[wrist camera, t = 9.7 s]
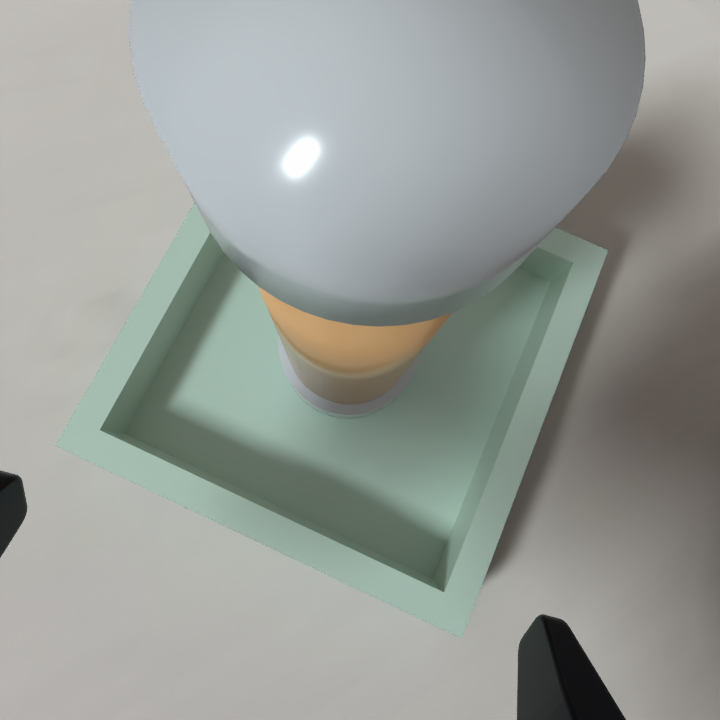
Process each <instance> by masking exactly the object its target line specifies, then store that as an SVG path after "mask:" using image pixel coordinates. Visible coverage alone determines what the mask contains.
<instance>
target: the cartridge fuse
mask: <svg viewBox="0 0 720 720" xmlns="http://www.w3.org/2000/svg"><path fill="white" fill-rule="evenodd" d="M129 43H130V50H131V56H132V63H133V70H134V75H135V78H136V81H137V84H138V88H139V91H140V94H141V97H142V101H143V103H144V105H145V107H146V110H147V112H148V114H149V116H150V118H151V120H152V122H153V124H154V126H155V128H156V130H157V132H158V134H159V136H160V138H161V140H162V142H163V144H164V146H165V147H166V149H167V151H168V153H169V155H170V157H171V159H172V161H173V163H174V164H175V166H176V168H177V170H178V172H179V174H180V176H181V178H182V180H183V182H184V183H185V185H186V187H187V189H188V191H189V193H190V195H191V197H192V199H193V200H194V202H195V204H196V206H197V208H198V210H199V212H200V214H201V216H202V217H203V219H204V221H205V223H206V225H207V227H208V229H209V231H210V233H211V234H212V236H213V237H214V238H215V240H216V241H217V243H218V244H219V246H220V247H221V249H222V250H223V252H224V253H225V254H226V255H227V257H228V258H229V259H230V260H231V261H232V262H233V263H234V264H235V265H236V267H237V268H238V269H239V270H240V271H241V272H242V273H243V274H245V275H246V276H247V277H248V278H249V279H250V280H252V281H253V282H254V283H255V284H256V285H257V286H258V287H259V290H260V292H261V294H262V297H263V299H264V302H265V304H266V306H267V309H268V311H269V313H270V316H271V318H272V321H273V323H274V325H275V328H276V330H277V332H278V335H279V337H278V351H279V357H280V361H281V364H282V367H283V370H284V372H285V374H286V376H287V378H288V380H289V382H290V384H291V386H292V387H293V389H294V390H295V392H296V393H297V395H298V396H299V397H300V398H301V399H302V400H303V401H304V402H305V403H306V404H307V405H309V406H310V407H312V408H313V409H315V410H316V411H318V412H320V413H323V414H325V415H328V416H331V417H336V418H344V419H352V418H360V417H365V416H368V415H371V414H374V413H376V412H378V411H380V410H381V409H383V408H384V407H386V406H387V405H389V404H390V403H391V402H392V401H393V400H394V399H395V398H396V397H397V396H398V395H399V394H400V393H401V392H402V390H403V389H404V388H405V387H406V386H407V384H408V383H409V381H410V380H411V378H412V376H413V374H414V372H415V370H416V367H417V364H418V361H419V355H420V353H421V352H422V351H423V350H424V348H425V347H426V346H427V344H428V343H429V342H430V341H431V339H432V338H433V337H434V336H435V334H436V333H437V332H438V330H439V329H440V328H441V327H442V325H443V324H444V323H445V322H446V320H447V319H448V318H449V316H450V315H451V314H452V313H453V312H455V311H457V310H460V309H462V308H464V307H466V306H468V305H470V304H472V303H474V302H476V301H477V300H479V299H480V298H482V297H483V296H485V295H486V294H488V293H489V292H491V291H492V290H494V289H495V288H496V287H497V286H499V285H500V284H501V283H502V282H503V281H504V280H505V279H506V278H508V277H509V276H510V275H511V274H512V273H513V272H514V271H515V270H516V269H517V268H518V267H519V266H520V265H521V264H522V263H523V261H524V260H525V259H526V258H527V257H528V256H529V255H530V254H531V253H532V252H533V251H534V250H535V249H536V248H537V246H538V245H539V244H540V243H541V242H542V241H543V240H544V239H545V238H546V237H547V236H548V235H549V234H550V233H551V232H552V230H553V229H554V228H555V227H556V226H557V225H558V224H559V223H560V222H561V221H562V220H563V219H564V218H565V217H566V216H567V214H568V213H569V212H570V211H571V210H572V209H573V208H574V207H575V206H576V205H577V204H578V203H579V202H580V201H581V200H582V198H583V197H584V196H585V195H586V194H587V193H588V192H589V191H590V190H591V189H592V187H593V186H594V185H595V184H596V183H597V181H598V180H599V179H600V178H601V177H602V175H603V174H604V173H605V172H606V171H607V170H608V168H609V167H610V165H611V164H612V162H613V160H614V159H615V157H616V155H617V154H618V152H619V151H620V149H621V147H622V146H623V144H624V142H625V140H626V138H627V135H628V133H629V131H630V128H631V126H632V123H633V121H634V119H635V116H636V113H637V109H638V105H639V101H640V97H641V93H642V89H643V81H644V70H645V59H646V57H645V41H644V28H643V23H642V19H641V14H640V9H639V4H638V0H132V2H131V8H130V34H129Z"/></svg>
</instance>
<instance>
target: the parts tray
mask: <svg viewBox="0 0 720 720" xmlns="http://www.w3.org/2000/svg"><path fill="white" fill-rule="evenodd" d="M607 253H608V250H606V249H604V248H602V247H600V246H597V245H595V244H593V243H590V242H588V241H586V240H584V239H581V238H579V237H577V236H574V235H572V234H570V233H568V232H565V231H563V230H561V229H559V228H556V227H555V228H554V229H553V230H552V232H551V233H550V234H549V235H548V236H547V237H546V238H545V239H544V240H543V241H542V242H541V243H540V244H539V245H538V246H537V248H536V249H535V250H534V251H533V252H532V253H531V254H530V255H529V256H528V257H527V258H526V259H525V260H524V261H523V263H522V264H521V265H520V266H519V267H518V268H517V269H516V270H515V271H514V272H513V273H512V274H511V275H510V276H509V277H508V278H506V279H505V280H504V281H503V282H502V283H501V284H500V285H499V286H497V287H496V288H495V289H494V290H492V291H491V292H489V293H488V294H486V295H485V296H483V297H482V298H480V299H479V300H477V301H476V302H474V303H472V304H470V305H468V306H466V307H464V308H462V309H460V310H457V311H455V312H453V313H452V314H451V315H450V316H449V318H448V319H447V320H446V322H445V323H444V324H443V325H442V327H441V328H440V329H439V330H438V332H437V333H436V334H435V336H434V337H433V338H432V339H431V341H430V342H429V343H428V344H427V346H426V347H425V348H424V350H423V351H422V352H421V353H420V355H419V361H418V364H417V367H416V370H415V372H414V374H413V376H412V378H411V380H410V381H409V383H408V384H407V386H406V387H405V388H404V389H403V390H402V392H401V393H400V394H399V395H398V396H397V397H396V398H395V399H394V400H393V401H392V402H391V403H390V404H389V405H387V406H386V407H384V408H383V409H381V410H380V411H378V412H376V413H374V414H371V415H368V416H365V417H360V418H352V419H344V418H336V417H331V416H328V415H325V414H323V413H320V412H318V411H316V410H315V409H313V408H312V407H310V406H309V405H307V404H306V403H305V402H304V401H303V400H302V399H301V398H300V397H299V396H298V395H297V393H296V392H295V390H294V389H293V387H292V386H291V384H290V382H289V380H288V378H287V376H286V374H285V372H284V370H283V367H282V364H281V361H280V357H279V351H278V337H279V335H278V332H277V330H276V328H275V325H274V323H273V321H272V318H271V316H270V313H269V311H268V309H267V306H266V304H265V302H264V299H263V297H262V294H261V292H260V290H259V287H258V286H257V285H256V284H255V283H254V282H253V281H252V280H250V279H249V278H248V277H247V276H246V275H245V274H243V273H242V272H241V271H240V270H239V269H238V268H237V267H236V265H235V264H234V263H233V262H232V261H231V260H230V259H229V258H228V257H227V255H226V254H225V253H224V252H223V250H222V249H221V247H220V246H219V244H218V243H217V241H216V240H215V238H214V237H213V236H212V234H211V233H210V231H209V229H208V227H207V225H206V223H205V221H204V219H203V217H202V216H201V214H200V212H199V210H198V208H197V206H196V204H195V203H194V205H193V207H192V208H191V210H190V212H189V214H188V215H187V217H186V219H185V221H184V222H183V224H182V226H181V228H180V229H179V231H178V233H177V235H176V236H175V238H174V240H173V242H172V243H171V245H170V247H169V248H168V250H167V252H166V254H165V255H164V257H163V259H162V261H161V262H160V264H159V266H158V268H157V269H156V271H155V273H154V275H153V276H152V278H151V280H150V282H149V283H148V285H147V287H146V289H145V290H144V292H143V294H142V295H141V297H140V299H139V301H138V302H137V304H136V306H135V308H134V309H133V311H132V313H131V315H130V316H129V318H128V320H127V322H126V323H125V325H124V327H123V329H122V330H121V332H120V334H119V335H118V337H117V339H116V341H115V342H114V344H113V346H112V348H111V349H110V351H109V353H108V355H107V356H106V358H105V360H104V362H103V363H102V365H101V367H100V369H99V370H98V372H97V374H96V376H95V377H94V379H93V381H92V382H91V384H90V386H89V388H88V389H87V391H86V393H85V395H84V396H83V398H82V400H81V402H80V403H79V405H78V407H77V409H76V410H75V412H74V414H73V416H72V417H71V419H70V421H69V422H68V424H67V426H66V428H65V429H64V431H63V433H62V435H61V436H60V438H59V440H58V442H57V443H56V445H55V446H57V447H59V448H61V449H63V450H65V451H68V452H70V453H72V454H74V455H76V456H78V457H80V458H82V459H84V460H87V461H89V462H91V463H93V464H95V465H97V466H99V467H101V468H103V469H105V470H108V471H110V472H112V473H114V474H116V475H118V476H120V477H122V478H124V479H127V480H129V481H131V482H133V483H135V484H137V485H139V486H141V487H143V488H145V489H148V490H150V491H152V492H154V493H156V494H158V495H160V496H162V497H164V498H167V499H169V500H171V501H173V502H175V503H177V504H179V505H181V506H183V507H185V508H188V509H190V510H192V511H194V512H196V513H198V514H200V515H202V516H204V517H207V518H209V519H211V520H213V521H215V522H217V523H219V524H221V525H223V526H225V527H228V528H230V529H232V530H234V531H236V532H238V533H240V534H242V535H244V536H247V537H249V538H251V539H253V540H255V541H257V542H259V543H261V544H263V545H265V546H268V547H270V548H272V549H274V550H276V551H278V552H280V553H282V554H284V555H287V556H289V557H291V558H293V559H295V560H297V561H299V562H301V563H303V564H305V565H308V566H310V567H312V568H314V569H316V570H318V571H320V572H322V573H324V574H327V575H329V576H331V577H333V578H335V579H337V580H339V581H341V582H343V583H345V584H348V585H350V586H352V587H354V588H356V589H358V590H360V591H362V592H364V593H367V594H369V595H371V596H373V597H375V598H377V599H379V600H381V601H383V602H385V603H388V604H390V605H392V606H394V607H396V608H398V609H400V610H402V611H404V612H407V613H409V614H411V615H413V616H415V617H417V618H419V619H421V620H423V621H425V622H428V623H430V624H432V625H434V626H436V627H438V628H440V629H442V630H444V631H447V632H449V633H451V634H453V635H455V636H457V637H459V638H461V639H462V637H463V634H464V631H465V629H466V626H467V623H468V621H469V618H470V615H471V613H472V610H473V607H474V605H475V602H476V600H477V597H478V594H479V592H480V589H481V586H482V584H483V581H484V578H485V576H486V573H487V570H488V568H489V565H490V562H491V560H492V557H493V554H494V552H495V549H496V547H497V544H498V541H499V539H500V536H501V533H502V531H503V528H504V525H505V523H506V520H507V517H508V515H509V512H510V509H511V507H512V504H513V502H514V499H515V496H516V494H517V491H518V488H519V486H520V483H521V480H522V478H523V475H524V472H525V470H526V467H527V464H528V462H529V459H530V456H531V454H532V451H533V449H534V446H535V443H536V441H537V438H538V435H539V433H540V430H541V427H542V425H543V422H544V419H545V417H546V414H547V411H548V409H549V406H550V404H551V401H552V398H553V396H554V393H555V390H556V388H557V385H558V382H559V380H560V377H561V374H562V372H563V369H564V366H565V364H566V361H567V358H568V356H569V353H570V351H571V348H572V345H573V343H574V340H575V337H576V335H577V332H578V329H579V327H580V324H581V321H582V319H583V316H584V313H585V311H586V308H587V306H588V303H589V300H590V298H591V295H592V292H593V290H594V287H595V284H596V282H597V279H598V276H599V274H600V271H601V268H602V266H603V263H604V260H605V258H606V255H607Z"/></svg>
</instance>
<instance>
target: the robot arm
mask: <svg viewBox="0 0 720 720" xmlns="http://www.w3.org/2000/svg"><path fill="white" fill-rule="evenodd" d="M26 513H27V503H26V498H25V492H24V487H23V482H22V479H21V478H20V477H19V476H18V475H15V474H12V473H8V472H4V471H0V557H1V556H2V554H3V553H4V551H5V549H6V548H7V546H8V545H9V543H10V542H11V540H12V538H13V537H14V535H15V534H16V532H17V530H18V529H19V527H20V526H21V524H22V522H23V520H24V518H25V516H26ZM517 720H626V719H625V717H624V716H623V714H622V712H621V711H620V709H619V708H618V706H617V704H616V703H615V701H614V699H613V698H612V696H611V694H610V693H609V691H608V690H607V688H606V686H605V685H604V683H603V681H602V680H601V678H600V676H599V675H598V673H597V672H596V670H595V668H594V667H593V665H592V663H591V662H590V660H589V658H588V657H587V655H586V654H585V652H584V650H583V649H582V647H581V645H580V644H579V642H578V640H577V639H576V637H575V635H574V634H573V632H572V631H571V629H570V627H569V626H568V624H567V623H566V622H565V621H563V620H561V619H559V618H555V617H551V616H547V615H543V614H542V615H539V616H538V617H537V618H536V619H535V620H534V622H533V623H532V625H531V626H530V627H529V629H528V630H527V632H526V633H525V634H524V636H523V637H522V639H521V641H520V644H519V650H518V691H517Z"/></svg>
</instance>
